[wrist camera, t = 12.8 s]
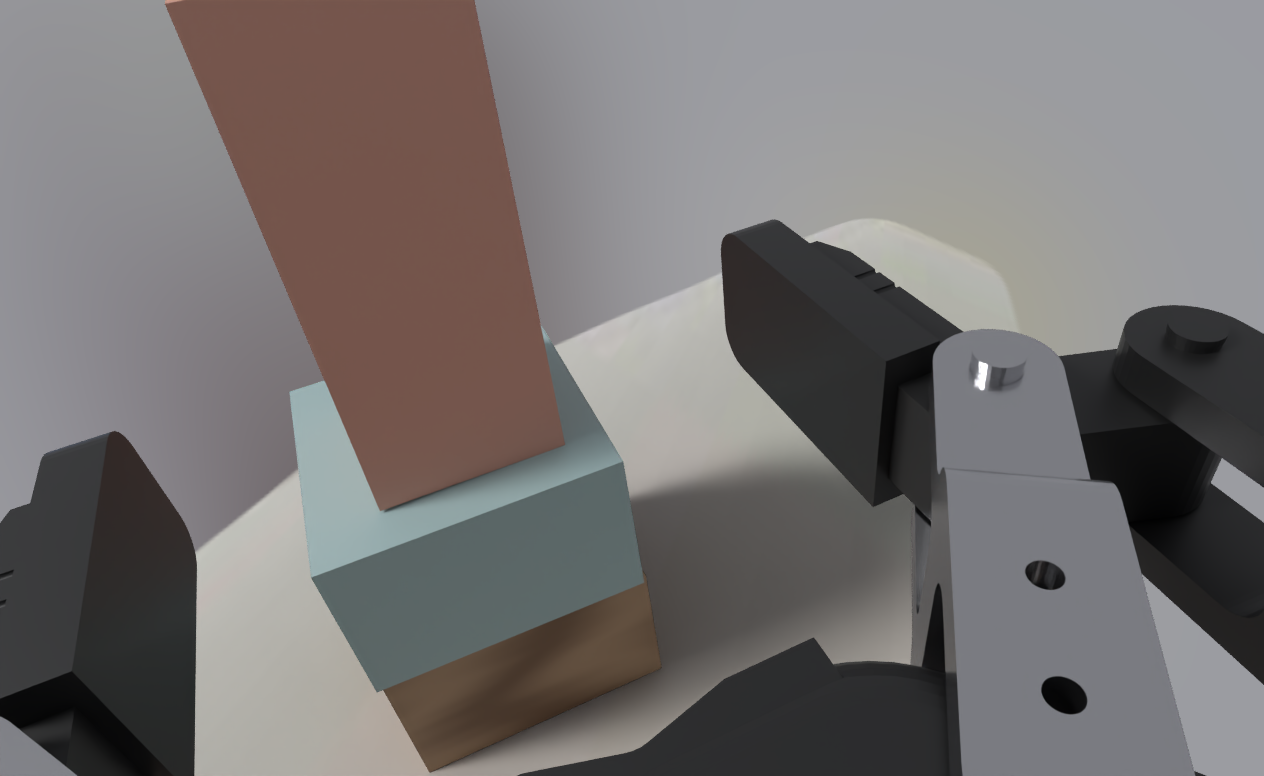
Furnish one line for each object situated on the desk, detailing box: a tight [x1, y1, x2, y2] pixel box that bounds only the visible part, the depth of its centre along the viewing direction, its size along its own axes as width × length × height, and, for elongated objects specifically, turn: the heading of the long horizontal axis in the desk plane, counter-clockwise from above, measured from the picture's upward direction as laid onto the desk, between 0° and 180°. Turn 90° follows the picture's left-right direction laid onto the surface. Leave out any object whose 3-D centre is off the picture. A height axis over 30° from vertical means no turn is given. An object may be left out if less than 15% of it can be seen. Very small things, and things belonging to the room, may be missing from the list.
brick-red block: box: [165, 0, 565, 511], centre depth 20 cm, size 5×5×12 cm
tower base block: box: [383, 570, 662, 772], centre depth 28 cm, size 8×8×5 cm
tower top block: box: [290, 326, 644, 692], centre depth 25 cm, size 8×8×5 cm
